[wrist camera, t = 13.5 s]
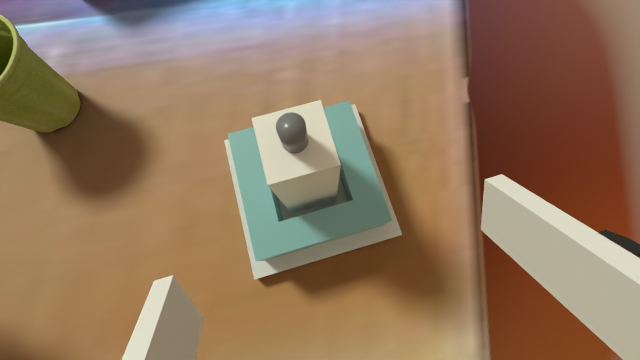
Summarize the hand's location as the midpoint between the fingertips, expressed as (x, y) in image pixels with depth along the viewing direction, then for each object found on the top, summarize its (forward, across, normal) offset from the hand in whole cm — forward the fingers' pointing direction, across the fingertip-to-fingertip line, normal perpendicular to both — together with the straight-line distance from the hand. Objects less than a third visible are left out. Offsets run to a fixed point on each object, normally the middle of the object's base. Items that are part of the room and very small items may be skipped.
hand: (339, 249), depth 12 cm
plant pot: (+28, -25, +6) cm, 38 cm away
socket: (+16, 0, -6) cm, 17 cm away
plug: (+15, 0, -5) cm, 16 cm away
